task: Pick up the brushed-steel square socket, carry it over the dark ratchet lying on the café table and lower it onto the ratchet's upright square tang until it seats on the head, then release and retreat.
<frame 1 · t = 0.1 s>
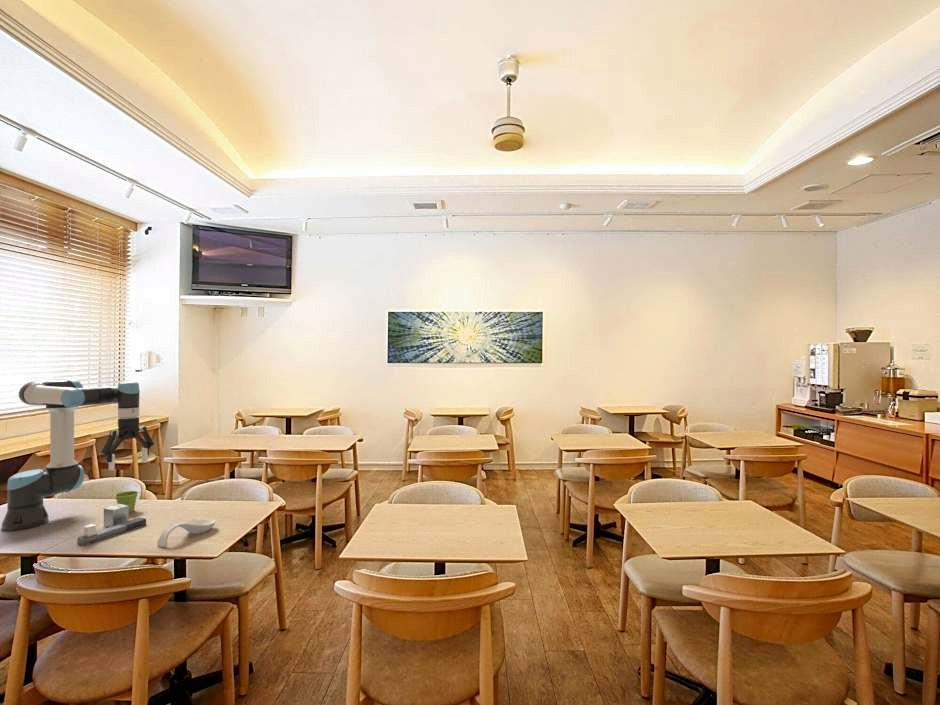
hand: (128, 466, 201), 28 cm above the table, fingers open, 13 cm apart
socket: (116, 524, 206), on the table
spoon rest: (188, 537, 193), on the table
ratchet: (113, 533, 196), on the table
plant pot: (126, 512, 223), on the table
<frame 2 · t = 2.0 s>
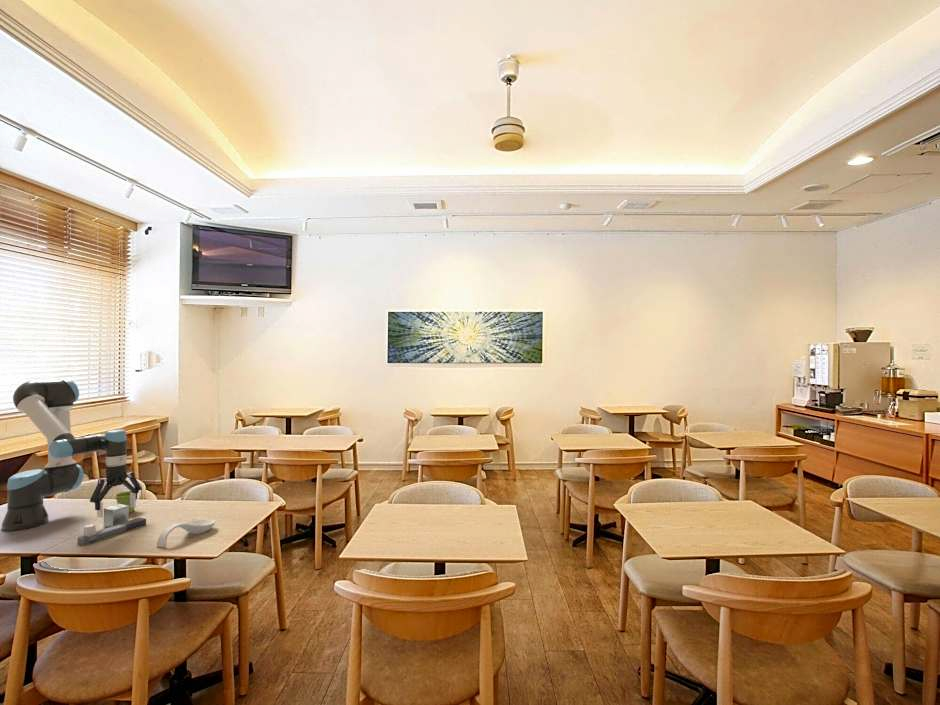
hand: (116, 512, 206), 6 cm above the table, fingers open, 13 cm apart
nothing on the table moved.
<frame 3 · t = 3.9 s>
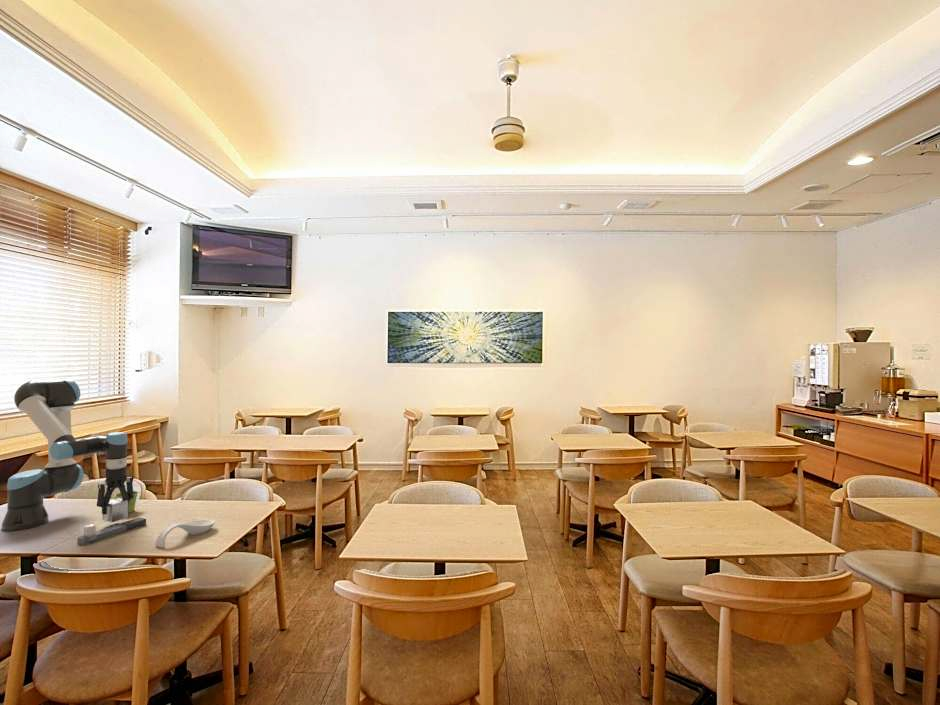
hand: (115, 518, 206), 3 cm above the table, fingers closed on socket, 6 cm apart
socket: (115, 518, 206), point 3 cm above the table, touching gripper
everything else where it was.
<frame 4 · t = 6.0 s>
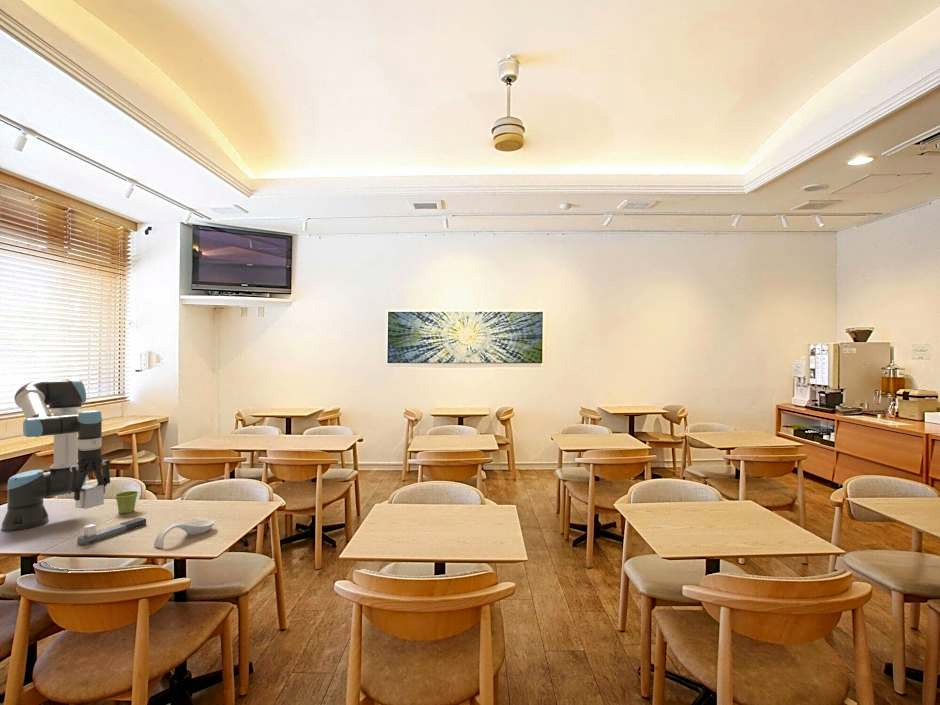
hand: (89, 504, 188), 15 cm above the table, fingers closed on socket, 6 cm apart
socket: (89, 505, 188), point 15 cm above the table, touching gripper
everything else where it was.
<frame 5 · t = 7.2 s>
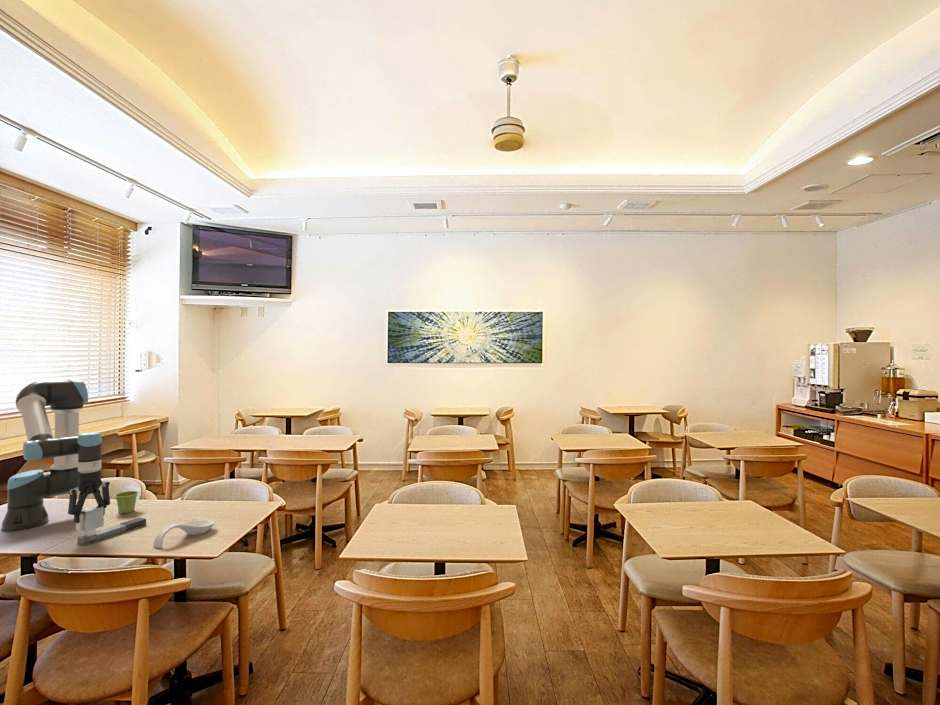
hand: (89, 527, 188), 6 cm above the table, fingers closed on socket, 6 cm apart
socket: (89, 527, 188), point 6 cm above the table, touching gripper
when the fingers open (4 cm above the table, at t = 7.9 s): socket stays where it is, resting on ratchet.
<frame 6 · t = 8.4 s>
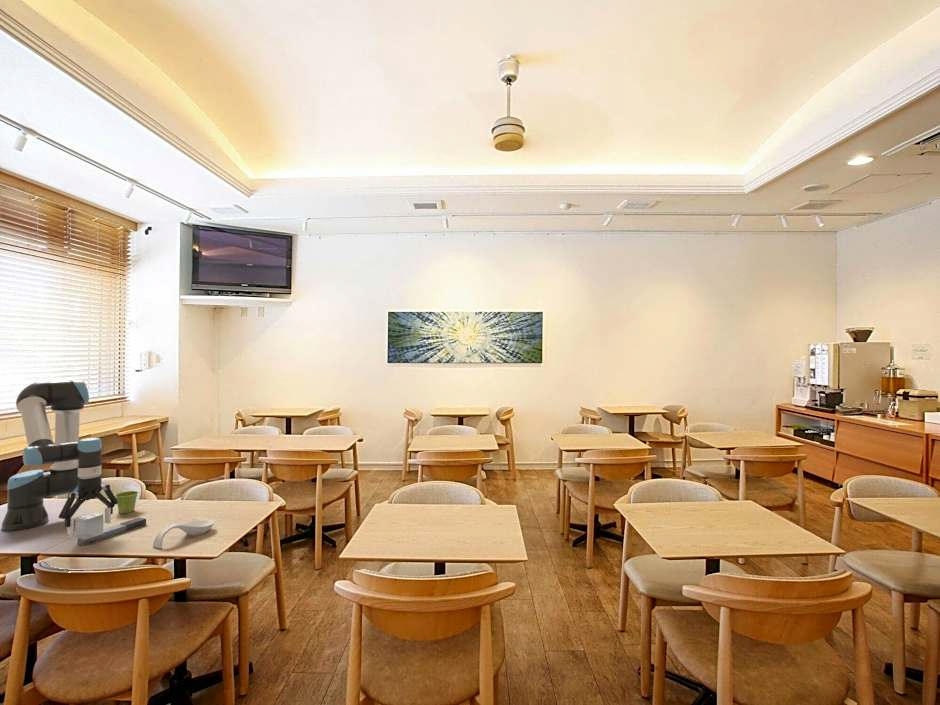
hand: (89, 528, 188), 5 cm above the table, fingers open, 13 cm apart
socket: (89, 535, 188), point 2 cm above the table, touching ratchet
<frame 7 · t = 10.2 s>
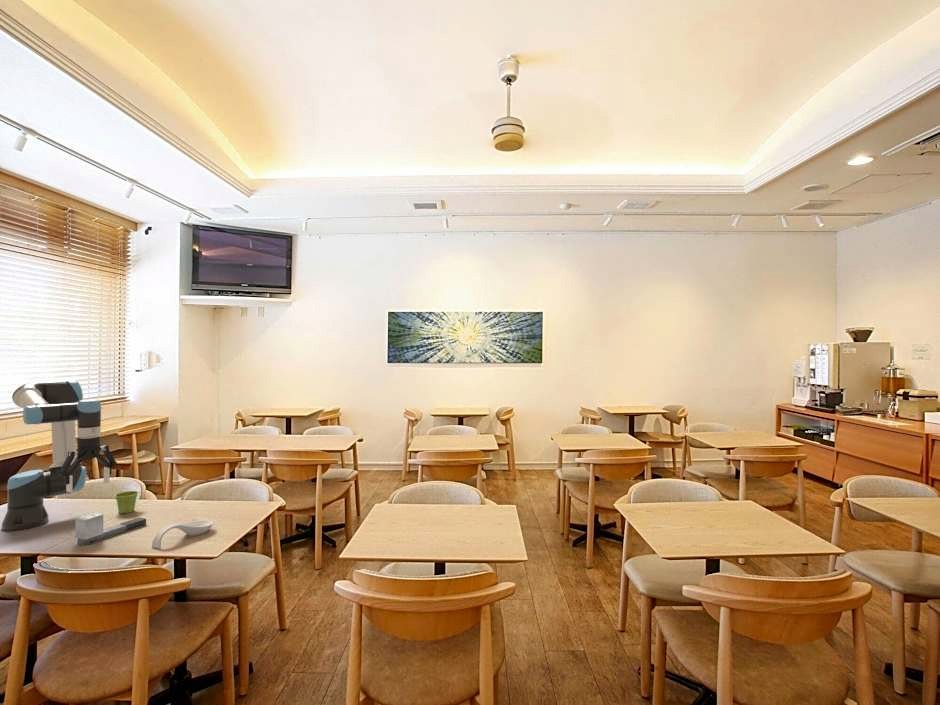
hand: (88, 487, 192), 21 cm above the table, fingers open, 13 cm apart
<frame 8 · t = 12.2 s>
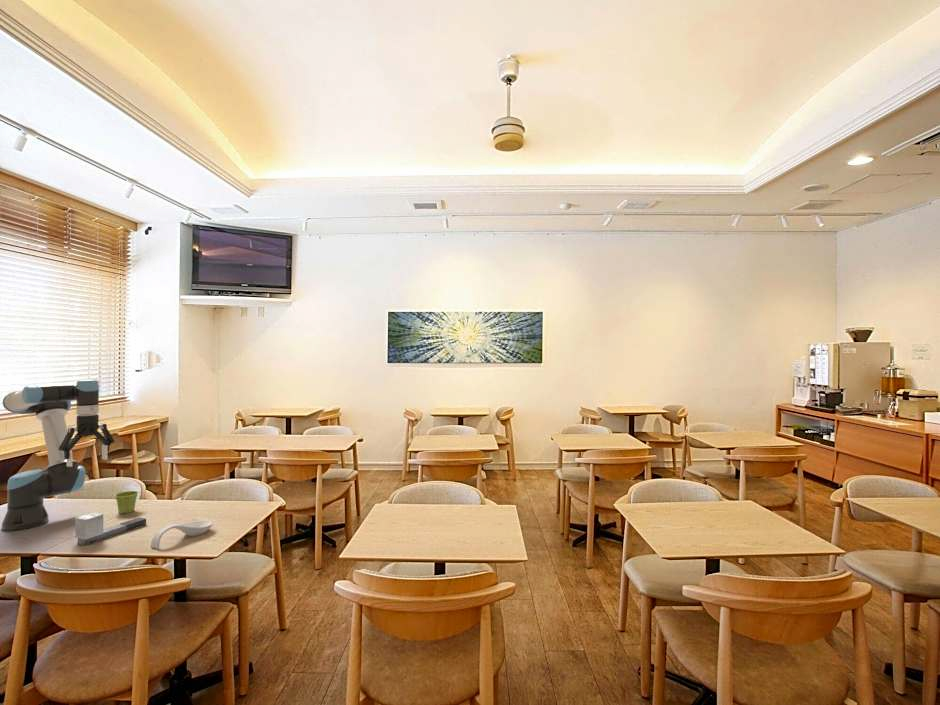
hand: (87, 462, 203), 29 cm above the table, fingers open, 13 cm apart
at the end: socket 0.0 cm from the target spot on the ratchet, point 2.5 cm above the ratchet's base; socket tilted 0°; the gripper is holding nothing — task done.
